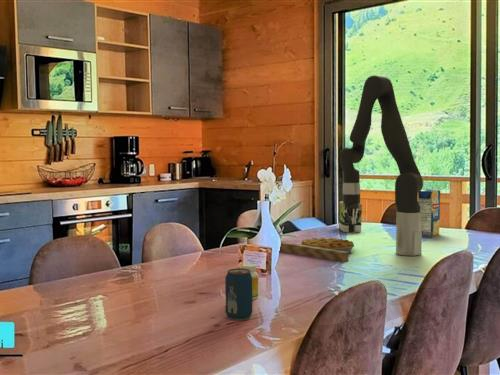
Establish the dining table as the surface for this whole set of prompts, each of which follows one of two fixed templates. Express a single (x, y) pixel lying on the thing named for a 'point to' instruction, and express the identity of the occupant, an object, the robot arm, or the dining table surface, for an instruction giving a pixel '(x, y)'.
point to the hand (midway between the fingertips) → (351, 232)
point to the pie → (330, 244)
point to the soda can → (238, 294)
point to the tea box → (344, 226)
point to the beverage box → (429, 212)
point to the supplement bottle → (253, 279)
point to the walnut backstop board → (314, 251)
